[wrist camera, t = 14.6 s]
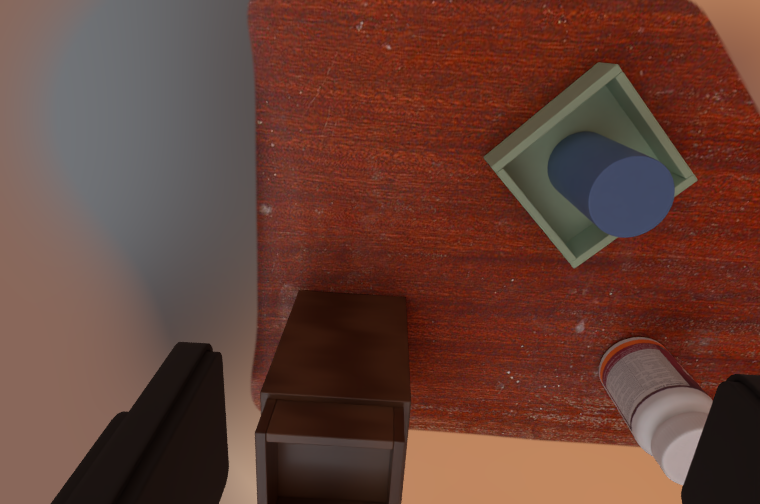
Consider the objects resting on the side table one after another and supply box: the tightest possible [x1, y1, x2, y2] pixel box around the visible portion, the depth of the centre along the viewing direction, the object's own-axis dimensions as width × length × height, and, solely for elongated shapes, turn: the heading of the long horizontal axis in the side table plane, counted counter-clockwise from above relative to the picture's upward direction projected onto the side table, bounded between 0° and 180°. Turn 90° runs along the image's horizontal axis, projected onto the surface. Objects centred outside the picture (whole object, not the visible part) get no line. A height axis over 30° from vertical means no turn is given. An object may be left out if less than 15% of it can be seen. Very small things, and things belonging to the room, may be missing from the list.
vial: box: [548, 131, 675, 237], centre depth 35 cm, size 5×5×9 cm
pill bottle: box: [599, 337, 713, 485], centre depth 41 cm, size 6×6×11 cm
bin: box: [483, 62, 697, 268], centre depth 38 cm, size 10×10×4 cm
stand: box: [255, 290, 411, 504], centre depth 38 cm, size 9×9×17 cm
